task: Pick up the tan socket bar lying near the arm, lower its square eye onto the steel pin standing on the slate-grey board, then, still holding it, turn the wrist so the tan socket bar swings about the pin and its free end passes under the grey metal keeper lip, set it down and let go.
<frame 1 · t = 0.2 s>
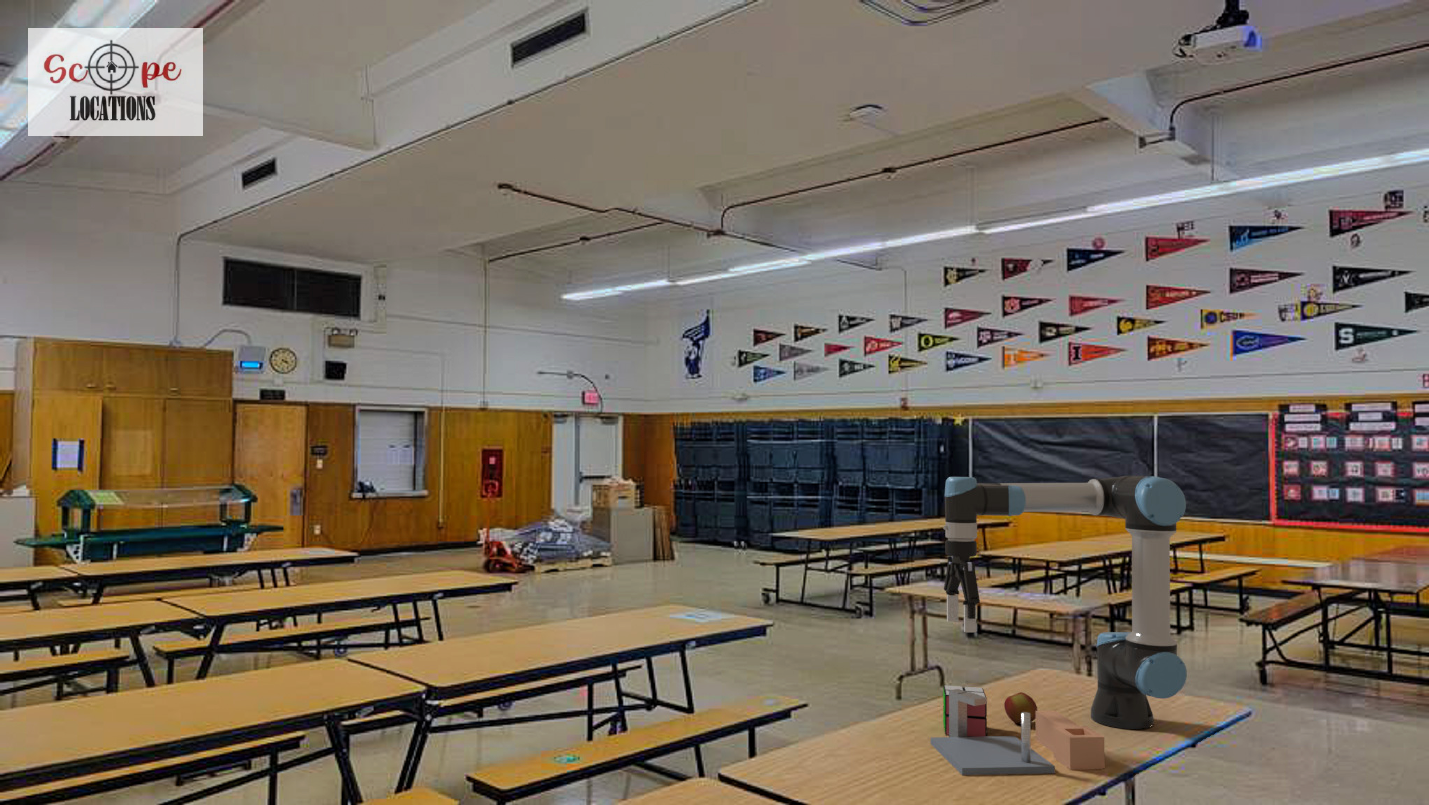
hand: (961, 626, 221), 27 cm above the table, fingers open, 13 cm apart
puzzle cube: (964, 732, 227), on the table
tan socket bar: (1045, 740, 221), on the table
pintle: (1026, 768, 201), resting on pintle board
apple: (1020, 724, 234), on the table
keeper: (968, 719, 217), on the table
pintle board: (989, 758, 207), on the table
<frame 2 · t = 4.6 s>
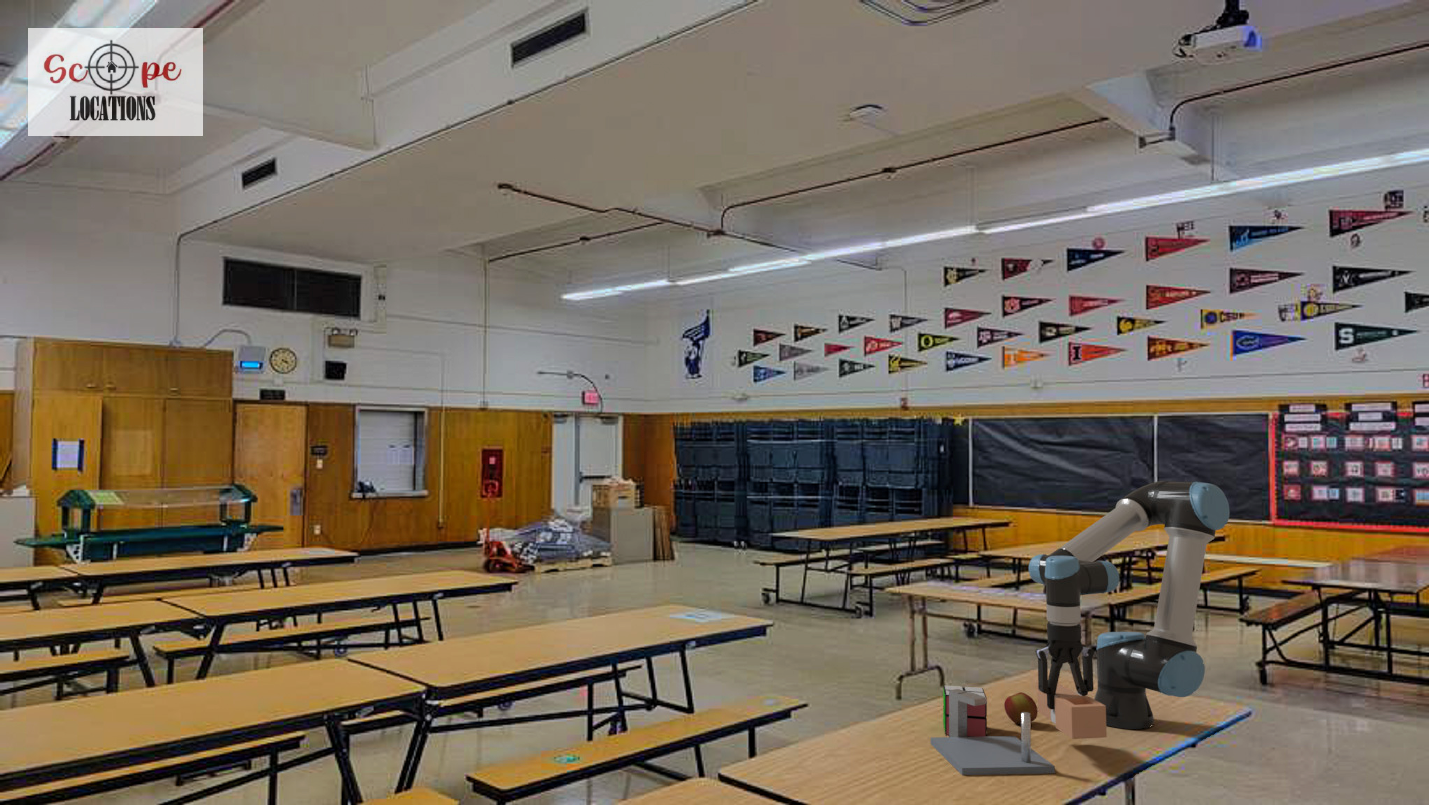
hand: (1067, 722, 212), 7 cm above the table, fingers closed on tan socket bar, 5 cm apart
tan socket bar: (1047, 711, 221), point 7 cm above the table, touching gripper
everything else where it was.
when the fingers open (2 cm above the table, at t = 10.7 s): tan socket bar stays where it is, resting on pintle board.
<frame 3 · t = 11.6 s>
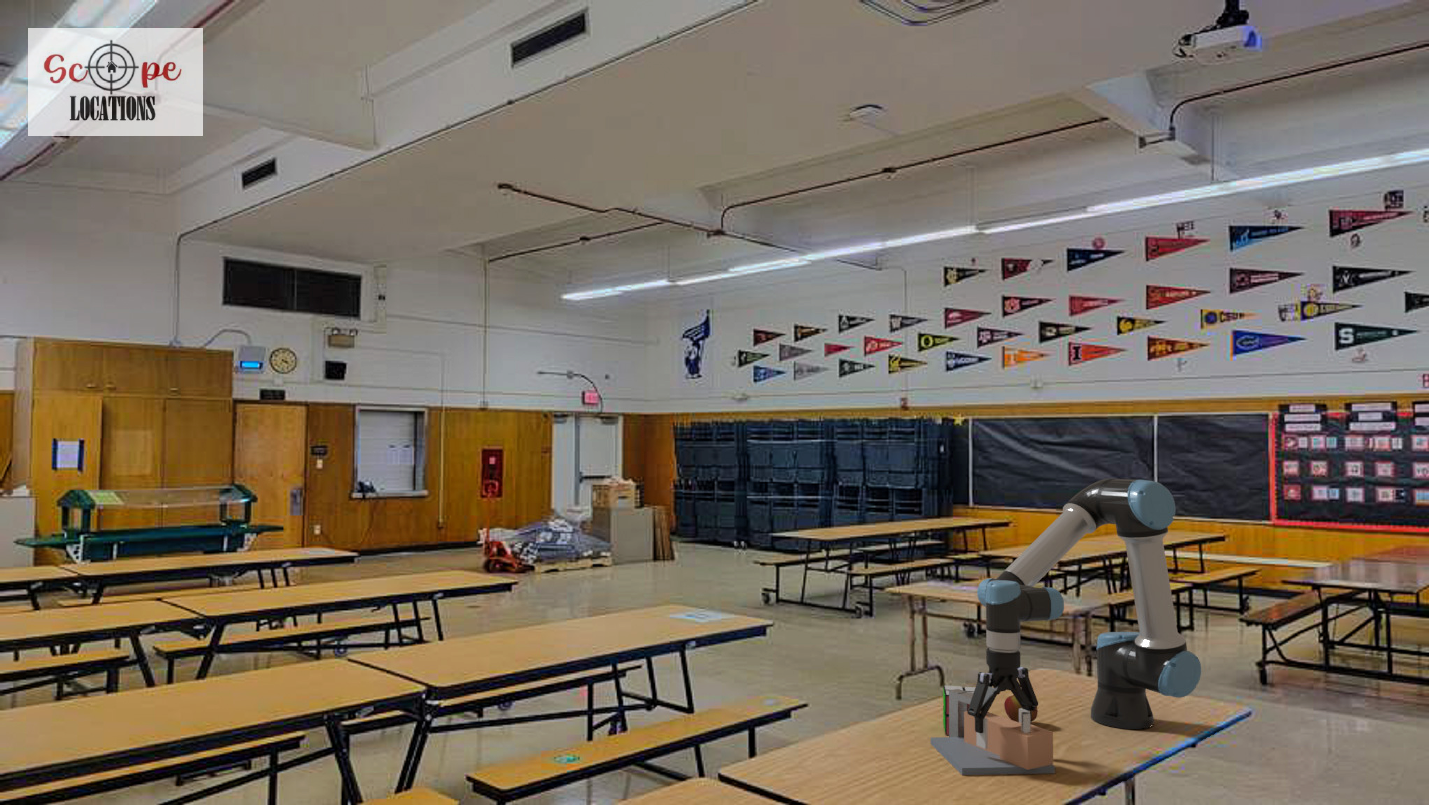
hand: (1003, 742, 207), 4 cm above the table, fingers open, 13 cm apart
tan socket bar: (971, 740, 215), point 1 cm above the table, touching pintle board
everything else where it was.
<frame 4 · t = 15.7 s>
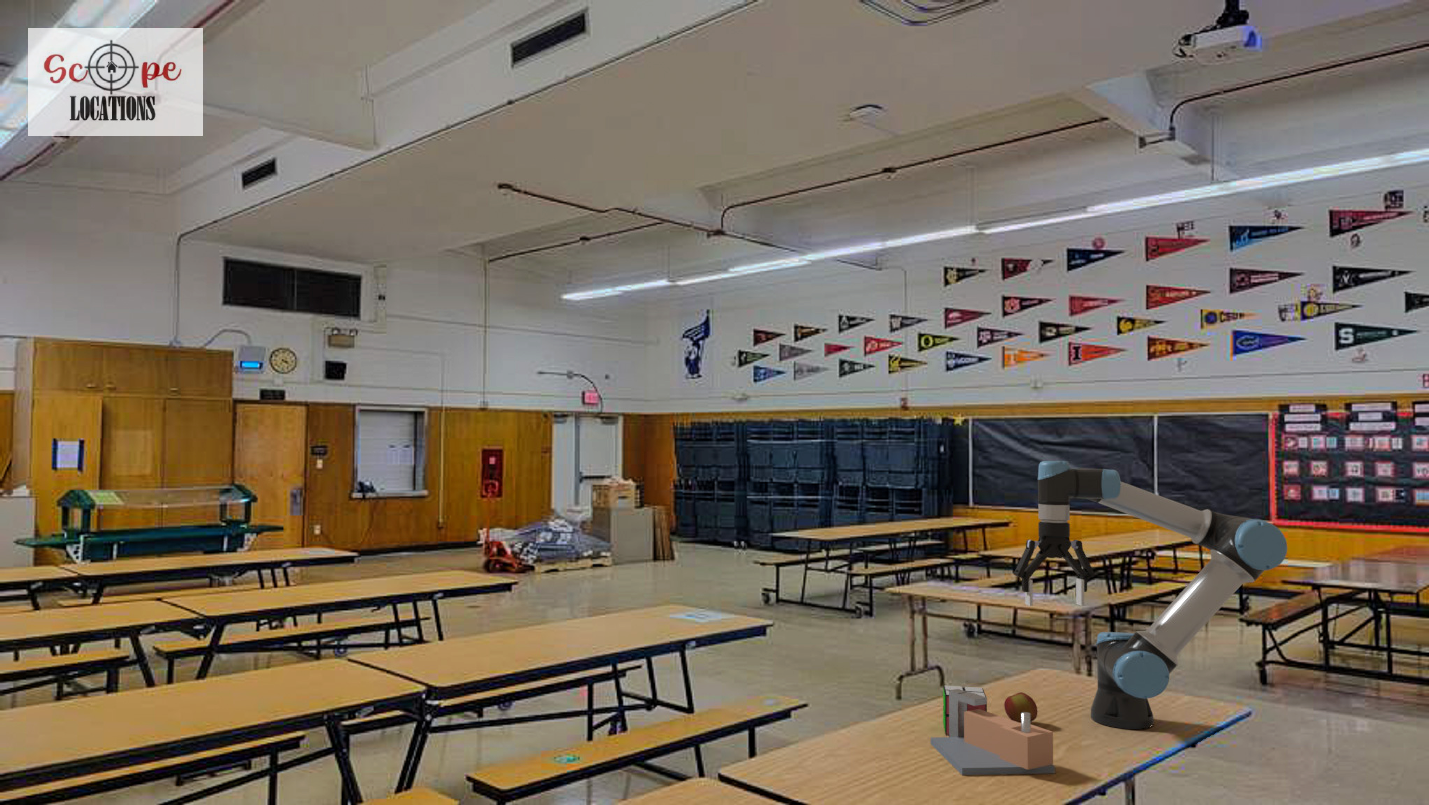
hand: (1054, 605, 229), 32 cm above the table, fingers open, 13 cm apart
nothing on the table moved.
at the end: tan socket bar 0.4 cm from the target spot, point 1.5 cm above the table; tan socket bar tilted 0°; the gripper is holding nothing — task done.
